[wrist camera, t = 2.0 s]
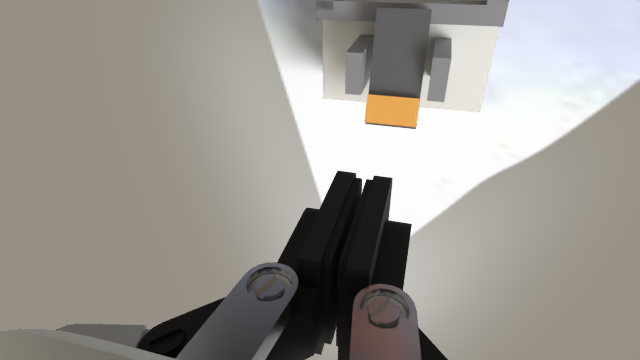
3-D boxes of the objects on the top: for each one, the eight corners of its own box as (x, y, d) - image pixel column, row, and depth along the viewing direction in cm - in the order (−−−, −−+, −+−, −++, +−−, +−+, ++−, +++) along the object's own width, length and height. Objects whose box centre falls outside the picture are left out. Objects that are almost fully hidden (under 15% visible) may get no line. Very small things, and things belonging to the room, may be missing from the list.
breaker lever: (379, 11, 17) (376, 6, 16) (431, 13, 16) (431, 8, 15) (368, 121, 18) (364, 124, 17) (416, 126, 18) (415, 129, 17)
